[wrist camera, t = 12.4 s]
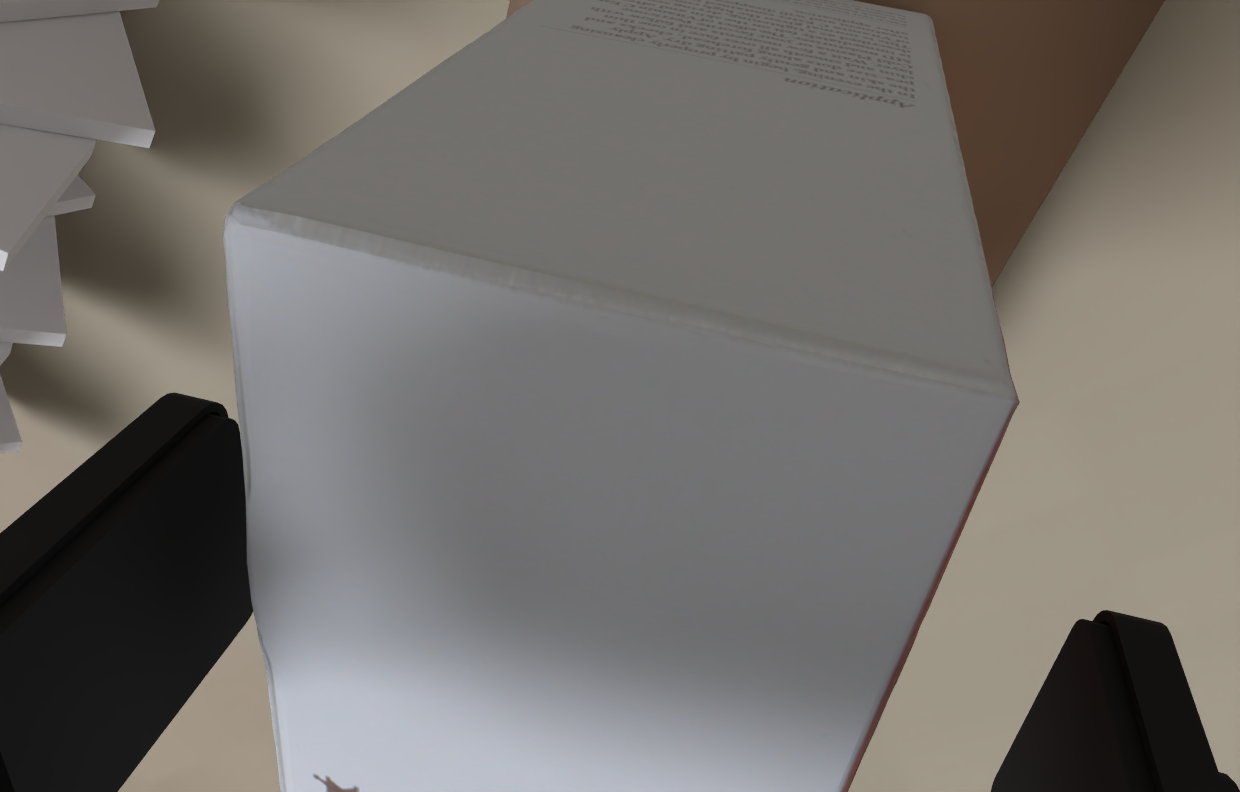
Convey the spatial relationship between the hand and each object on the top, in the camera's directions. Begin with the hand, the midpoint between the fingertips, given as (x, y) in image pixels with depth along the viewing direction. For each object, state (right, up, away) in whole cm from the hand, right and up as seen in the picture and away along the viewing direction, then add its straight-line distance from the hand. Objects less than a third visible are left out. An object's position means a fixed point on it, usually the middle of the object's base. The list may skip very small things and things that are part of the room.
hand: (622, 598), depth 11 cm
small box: (+2, +7, +9) cm, 12 cm away
